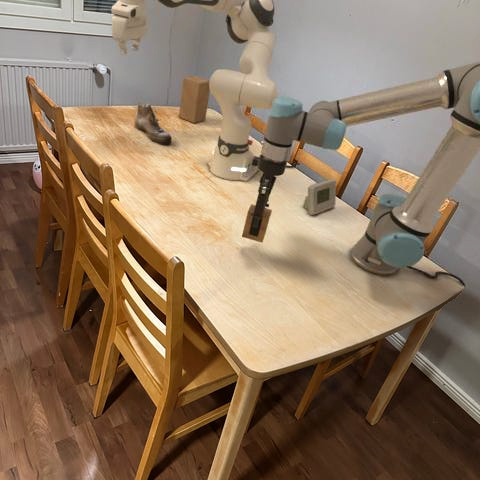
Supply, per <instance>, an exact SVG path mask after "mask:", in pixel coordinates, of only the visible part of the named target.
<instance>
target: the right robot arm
mask: <svg viewBox="0 0 480 480" xmlns="http://www.w3.org/2000/svg"><path fill="white" fill-rule="evenodd" d="M436 108H441V109H443V110H451V109H452V111H451V113H450V114H449V118H450V121H451V125H450V127H449V128H448V130H447V132H446V133H445V135H444V137H443V138H442V139H441V141H440V143H439V145H438V146H437V147H436V149H435V151H434V153H433V154H432V156H431V157H430V159H429V161H428V163H427V164H426V166H425V167H424V169H423V170H422V172H421V174H420V175H419V177H418V178H417V180H416V182H415V184H414V185H413V187H412V188H411V190H410V191H409V193H408V195H407V196H406V197H404V196H401V195H397V194H394V193H384V194H382V195H380V196H379V198H378V200H377V202H376V205H375V207H374V209H373V211H372V214H371V217H370V220H369V222H368V225H367V227H366V230H365V232H364V234H363V235H362V236H361V238H359V240H358V241H357V242H356V243H355V244H354V246H352V249H351V251H350V258H351V259H352V260H351V261H353V262H354V263H355V264H356V265H357V266H358V267H359V268H361V269H363V270H364V271H366V272H368V273H371V274H374V275H379V276H391V275H394V274H395V273H396V272H397V270H398V269H399V268H403V269H404V268H406V269H409V270H412V271H415V272H418V273H419V274H423V275H425V276H427V277H428V278H430V279H438V276H439V275H444V276H449V277H451V278H454V279H456V280H457V281H458V282H459V283H460V284H461V285H462V286H463V287H466V284H465V282H464V281H463V280H462V278H460V277H459V276H457V275H456V274H453V273H450V272H446V271H440V270H439V271H436V272H435V273H434V275H433V274H432V275H431V274H430V273H428V272H426V271H424V270H421V269H419V268H416V267H414V265H416V264H417V263H419V262H420V261H421V260H422V258H423V257H424V254H425V250H426V248H425V244H424V243H425V242H426V240H427V239H428V237H429V236H430V234H431V233H432V232H433V230H434V227H433V223H432V221H433V220H434V218H435V217H436V215H437V213H439V211H440V209H441V208H442V206H443V205H444V203H445V202H446V200H447V199H448V198H449V196H450V195H451V193H452V192H453V190H454V188H455V187H456V186H457V184H458V183H459V181H460V180H461V179H462V177H463V176H464V174H465V172H466V171H467V170H468V168H469V166H470V165H471V164H472V162H473V161H474V159H475V158H476V156H477V155H478V154H479V152H480V61H477V62H472V63H467V64H463V65H460V66H456V67H453V68H450V69H445V70H442V71H441V70H440V72H439V73H438V75H436V76H433V77H429V78H425V79H421V80H417V81H413V82H409V83H403V84H400V85H395V86H392V87H387V88H382V89H378V90H374V91H370V92H366V93H362V94H358V95H354V96H350V97H344V98H341V99H337V100H332V101H327V100H319V101H316V102H315V103H314V104H313V105H312V106H311V107H310V109H309V111H305V110H303V103H302V101H300V100H299V99H296V98H293V97H289V96H285V95H284V96H278V97H277V98H276V99H274V101H273V104H272V108H270V111H269V114H268V118H267V124H266V127H265V133H264V137H263V140H261V141H260V146H261V150H260V155H259V156H258V157H259V161H258V165H257V167H258V171H259V172H261V173H262V174H261V176H260V178H259V186H258V190H257V192H258V194H257V198H256V202H255V205H256V206H255V210H254V213H251V216H253V218H252V222H251V226H250V230H249V235H252V236H256V237H258V234H259V230H260V226H261V222H262V219H263V212H264V209H265V208H267V209H270V203H268V202H269V199H270V196H271V194H272V190H273V189H274V186H275V183H276V180H277V177H281V176H282V175H284V174H285V172H286V169H287V167H286V165H287V164H288V160H289V157H290V155H291V151H292V148H293V143H294V141H295V142H299V143H303V144H307V145H311V146H313V147H317V148H321V149H324V150H331V151H337V150H339V149H340V148H341V146H342V144H343V142H344V138H345V136H346V131H347V127H352V126H356V125H360V124H366V123H370V122H375V121H379V120H383V119H388V118H393V117H398V116H403V115H408V114H412V113H416V112H421V111H426V110H431V109H436ZM287 166H288V165H287Z"/></svg>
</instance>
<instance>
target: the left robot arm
mask: <svg viewBox="0 0 480 480" xmlns="http://www.w3.org/2000/svg"><path fill="white" fill-rule="evenodd" d="M153 1H155V2H157V3H160V4H162V5H164V6H165V7H167V8H171V9H174V8H178V7H180V6H181V7H182V5H186V4H191V5H199V6H200V7H201V8H203V9H206V10H208V11H211V12H217V13H225V14H227V15H226V17H225V23H226V29H227V32H228V34H229V35H228V36H229V37H230V38H231V40H232V41H233V42H235V43H236V44H245V46H244V48H243V50H242V53H241V55H240V59H239V61H238V66H239V70H240V71H237V70H232V69H224V68H223V69H221V68H219V69H216V70H215V71H214V72H213V73H212V74H211V76H210V78H209V88H210V94H211V95H212V96H213V97H214V99H215V100H216V102H217V103H218V105H219V108H220V111H221V112H220V113H221V127H220V135H219V136H218V139H217V145H216V146H215V147H214V149H213V151H212V157H211V160H209V161H208V164H207V165H208V166H209V170H210V172H211V173H212V174H213V175H215V176H216V177H218V178H220V179H225V180H229V181H242V182H247V181H249V179H251V177H253V176H254V175H255V174H256V173H257V172H258V171H259V169H258V167H257V165H258V161H259V157H260V156H256V155H254V154H253V153H252V152H251V151H250V146H252V145H253V143H254V141H253V140H251V139H249V138H250V133H251V129H252V122H251V120H250V118H249V117H248V116H247V115H246V114H245V113H244V112H243V111H242V109H241V106H243V107H248V108H251V109H255V110H267V111H268V110H271V108H272V104H273V101H274V99H276V98H277V97H279V89H278V86H277V84H276V83H275V82H274V81H273V80H272V79H271V77H270V75H269V73H268V71H269V66H270V63H271V61H272V58H273V54H274V51H275V43H276V40H275V36H274V34H273V33H272V31H270V27H271V26H272V25H273V24H274V16H275V3H274V1H273V0H153ZM146 5H147V0H117V1H116V3H114V4H113V5H112V6H111V14H113V15H112V18H111V36H112V38H113V40H114V41H118V45H119V49H120V50H119V52H120V54H122V55H127V54H128V48H127V46H126V45H127V42H128V41H131V40H133V44H132V48H131V49H132V51H134V52H137V51H139V49H140V47H139V46H140V43H141V41H142V38H145V37H146V36H147V33H148V16H147V15H146V8H147V7H146ZM297 165H298V166H300V163H299V162H295V163H294V164H293V165H286V168H290V169H291V168H295V167H296V166H297Z"/></svg>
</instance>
